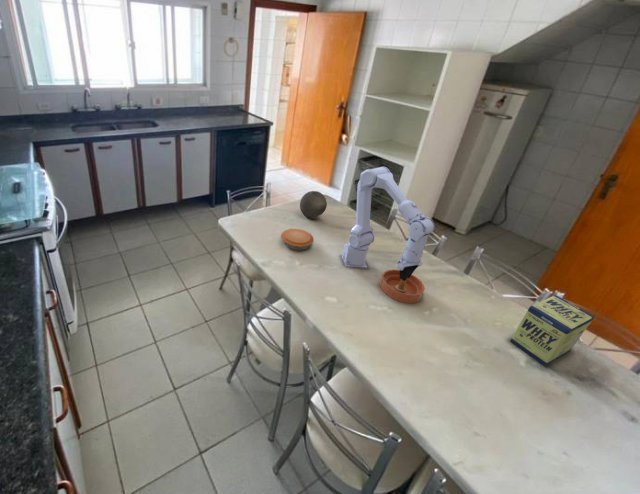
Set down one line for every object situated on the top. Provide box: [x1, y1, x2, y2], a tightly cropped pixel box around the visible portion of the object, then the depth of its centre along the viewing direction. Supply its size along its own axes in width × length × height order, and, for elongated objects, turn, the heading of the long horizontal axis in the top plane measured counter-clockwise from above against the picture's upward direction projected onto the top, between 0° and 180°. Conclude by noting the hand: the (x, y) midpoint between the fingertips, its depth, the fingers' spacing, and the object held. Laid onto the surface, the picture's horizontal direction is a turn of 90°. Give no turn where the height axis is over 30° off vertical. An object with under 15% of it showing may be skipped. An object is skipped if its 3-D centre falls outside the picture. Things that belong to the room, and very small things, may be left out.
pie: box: [280, 228, 314, 251], centre depth 155 cm, size 15×16×5 cm
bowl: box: [379, 269, 426, 304], centre depth 129 cm, size 15×15×4 cm
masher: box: [395, 279, 407, 293], centre depth 125 cm, size 4×4×10 cm
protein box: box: [509, 294, 596, 367], centre depth 105 cm, size 10×16×16 cm
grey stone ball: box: [299, 190, 328, 219], centre depth 178 cm, size 14×14×15 cm
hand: (404, 278), depth 125 cm, fingers closed on masher, 2 cm apart
